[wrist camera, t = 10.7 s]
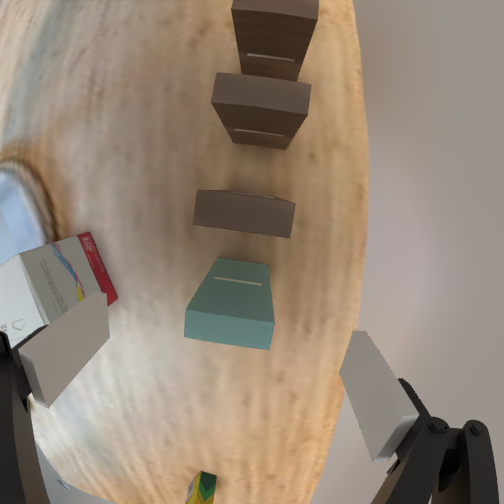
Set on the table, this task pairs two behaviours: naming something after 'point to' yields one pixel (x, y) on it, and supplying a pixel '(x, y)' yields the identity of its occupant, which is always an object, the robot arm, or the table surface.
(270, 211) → the domino
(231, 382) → the table surface
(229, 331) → the domino
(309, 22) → the domino
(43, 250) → the ink box
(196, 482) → the crayon box
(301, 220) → the table surface
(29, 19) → the table surface
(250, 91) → the domino
